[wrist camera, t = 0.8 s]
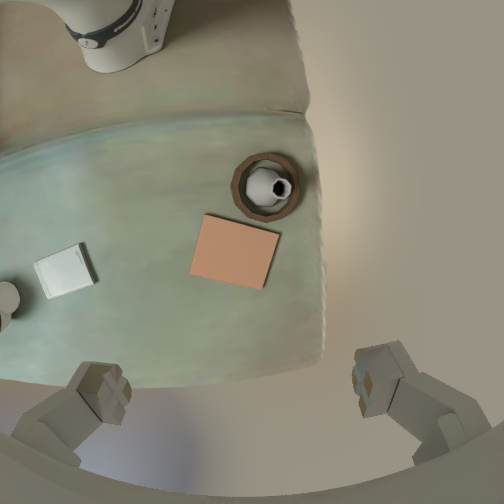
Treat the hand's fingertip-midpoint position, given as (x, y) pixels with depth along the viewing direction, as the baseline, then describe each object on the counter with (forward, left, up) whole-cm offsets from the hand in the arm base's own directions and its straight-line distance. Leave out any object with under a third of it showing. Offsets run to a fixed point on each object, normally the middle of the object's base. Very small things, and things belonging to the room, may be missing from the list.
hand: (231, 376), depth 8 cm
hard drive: (+17, -24, -43) cm, 52 cm away
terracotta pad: (+5, +8, -42) cm, 43 cm away
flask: (-8, +10, -42) cm, 44 cm away
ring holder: (-8, +10, -42) cm, 44 cm away
